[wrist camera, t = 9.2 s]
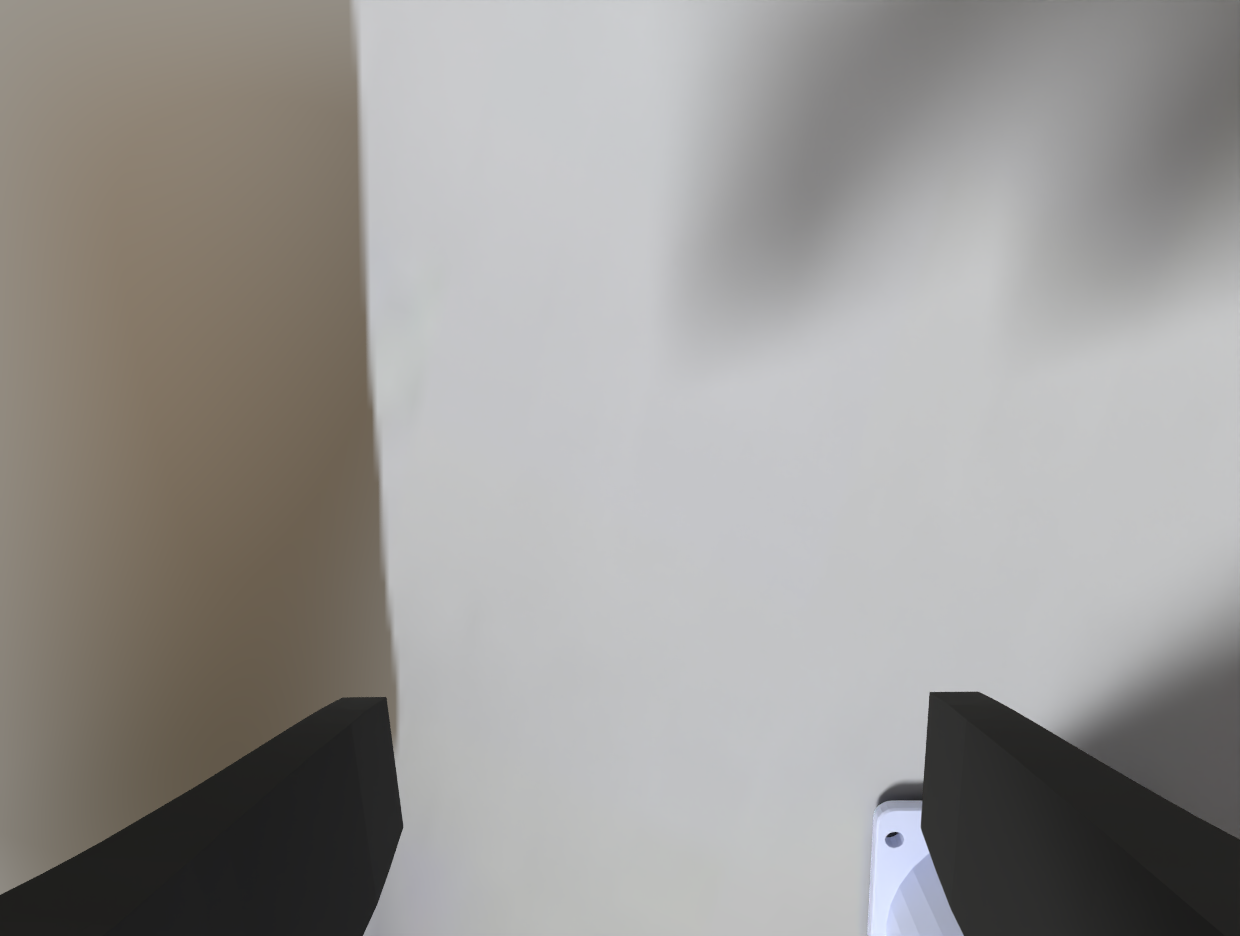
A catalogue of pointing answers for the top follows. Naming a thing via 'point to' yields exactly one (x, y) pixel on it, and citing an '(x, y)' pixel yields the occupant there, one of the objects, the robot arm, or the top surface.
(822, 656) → the top surface
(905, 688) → the top surface
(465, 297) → the top surface
